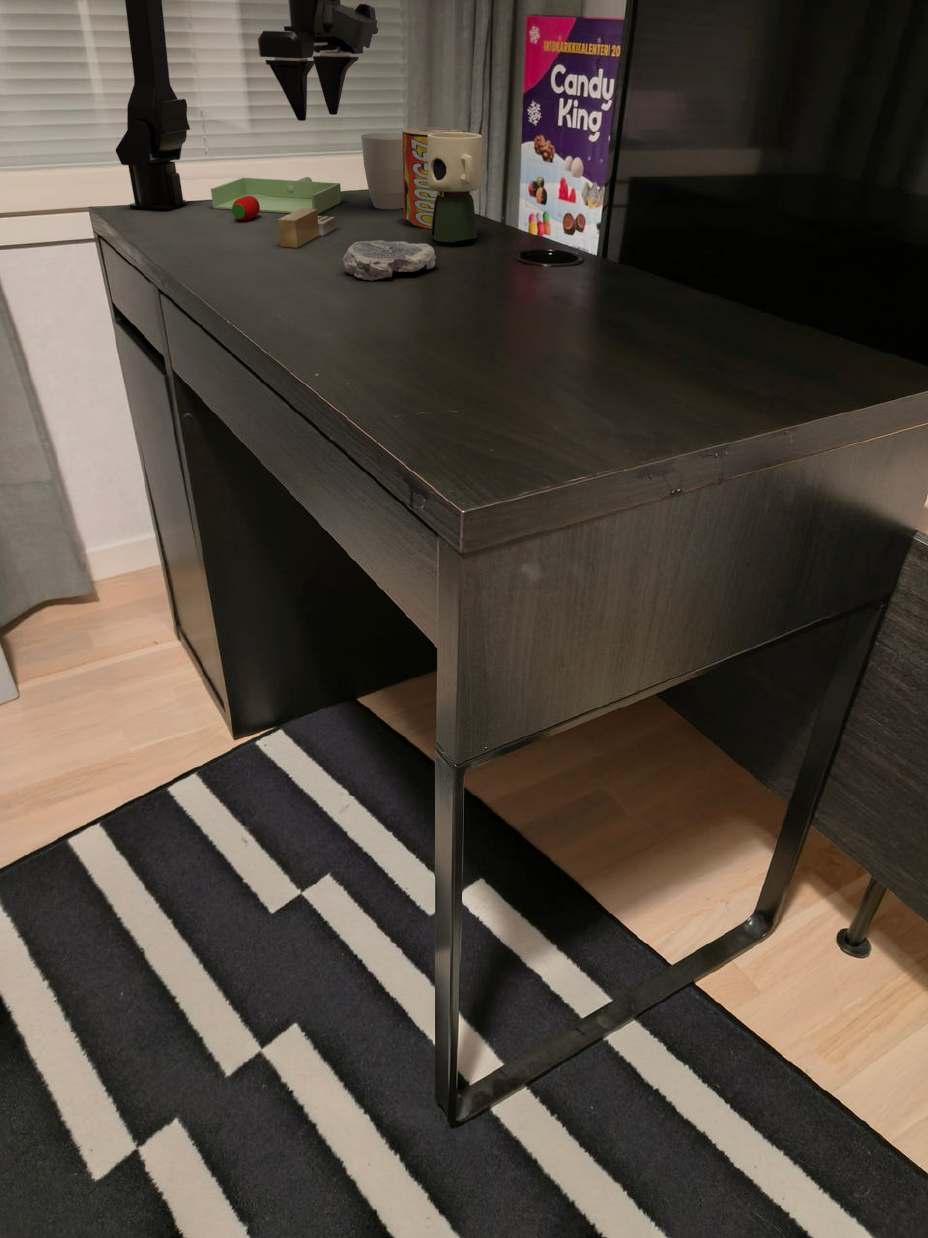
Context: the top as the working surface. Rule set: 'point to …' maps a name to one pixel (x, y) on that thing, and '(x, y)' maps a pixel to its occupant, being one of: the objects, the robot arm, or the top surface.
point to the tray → (279, 194)
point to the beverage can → (418, 177)
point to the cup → (384, 169)
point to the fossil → (386, 258)
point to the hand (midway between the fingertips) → (318, 117)
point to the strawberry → (245, 208)
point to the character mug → (454, 183)
